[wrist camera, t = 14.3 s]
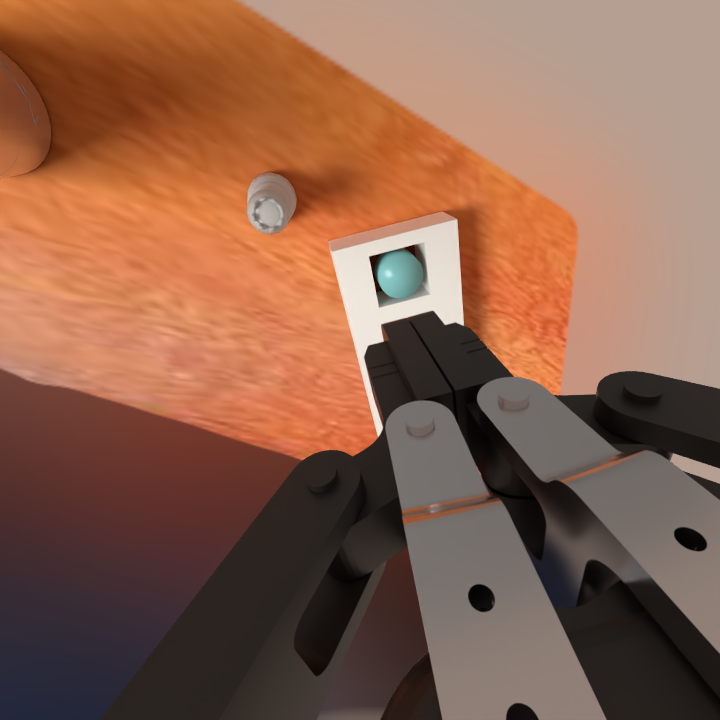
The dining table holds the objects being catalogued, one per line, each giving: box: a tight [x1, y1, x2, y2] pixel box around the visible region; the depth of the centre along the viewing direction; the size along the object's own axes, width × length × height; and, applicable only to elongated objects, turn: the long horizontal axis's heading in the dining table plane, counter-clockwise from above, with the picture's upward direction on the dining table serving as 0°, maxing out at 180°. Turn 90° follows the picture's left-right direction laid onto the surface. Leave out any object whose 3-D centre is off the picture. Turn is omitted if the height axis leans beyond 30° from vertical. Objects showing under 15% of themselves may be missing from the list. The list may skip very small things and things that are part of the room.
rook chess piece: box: [247, 172, 297, 234], centre depth 31 cm, size 4×4×8 cm
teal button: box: [374, 248, 423, 298], centre depth 37 cm, size 4×4×2 cm
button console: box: [328, 211, 464, 437], centre depth 43 cm, size 12×26×4 cm, turn 12°
